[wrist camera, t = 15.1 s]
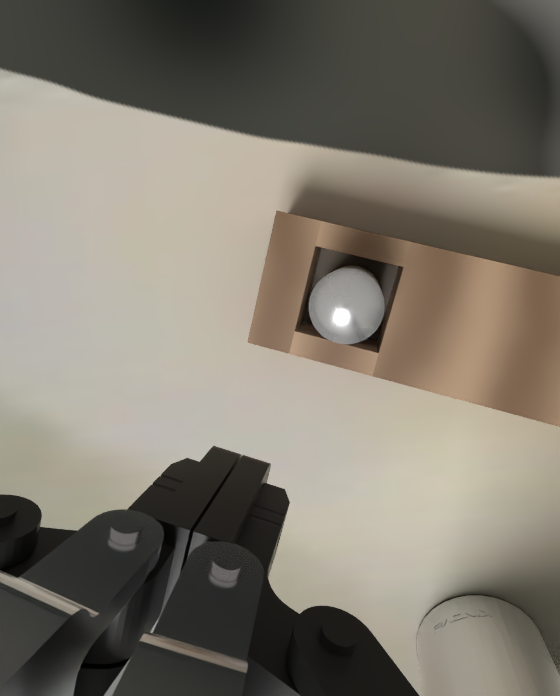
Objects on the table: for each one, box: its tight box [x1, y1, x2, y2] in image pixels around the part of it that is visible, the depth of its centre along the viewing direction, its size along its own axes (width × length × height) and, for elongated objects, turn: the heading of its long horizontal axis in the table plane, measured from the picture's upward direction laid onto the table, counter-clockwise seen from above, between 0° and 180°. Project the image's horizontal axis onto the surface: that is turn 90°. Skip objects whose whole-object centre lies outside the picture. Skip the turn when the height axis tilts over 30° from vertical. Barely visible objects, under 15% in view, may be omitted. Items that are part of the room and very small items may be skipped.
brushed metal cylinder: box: [309, 265, 385, 344], centre depth 29 cm, size 4×4×8 cm
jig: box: [248, 211, 560, 427], centre depth 30 cm, size 25×8×4 cm, turn 77°
